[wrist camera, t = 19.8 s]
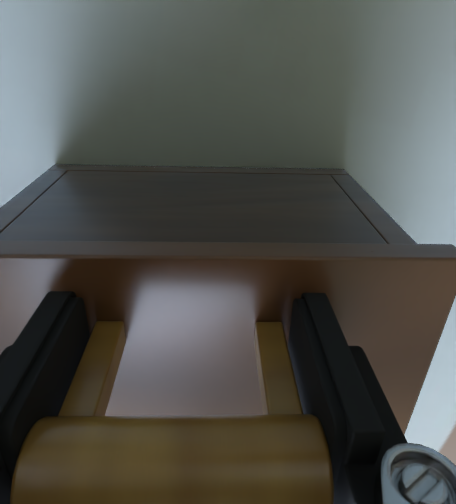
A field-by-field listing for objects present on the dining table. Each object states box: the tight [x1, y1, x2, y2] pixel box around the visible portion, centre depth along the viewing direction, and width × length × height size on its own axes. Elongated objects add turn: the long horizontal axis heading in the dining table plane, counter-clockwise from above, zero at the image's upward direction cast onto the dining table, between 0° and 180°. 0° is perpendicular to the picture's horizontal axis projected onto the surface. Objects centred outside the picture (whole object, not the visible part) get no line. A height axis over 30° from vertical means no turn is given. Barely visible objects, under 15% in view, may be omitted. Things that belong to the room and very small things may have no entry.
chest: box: [0, 165, 417, 244], centre depth 18 cm, size 17×13×9 cm
